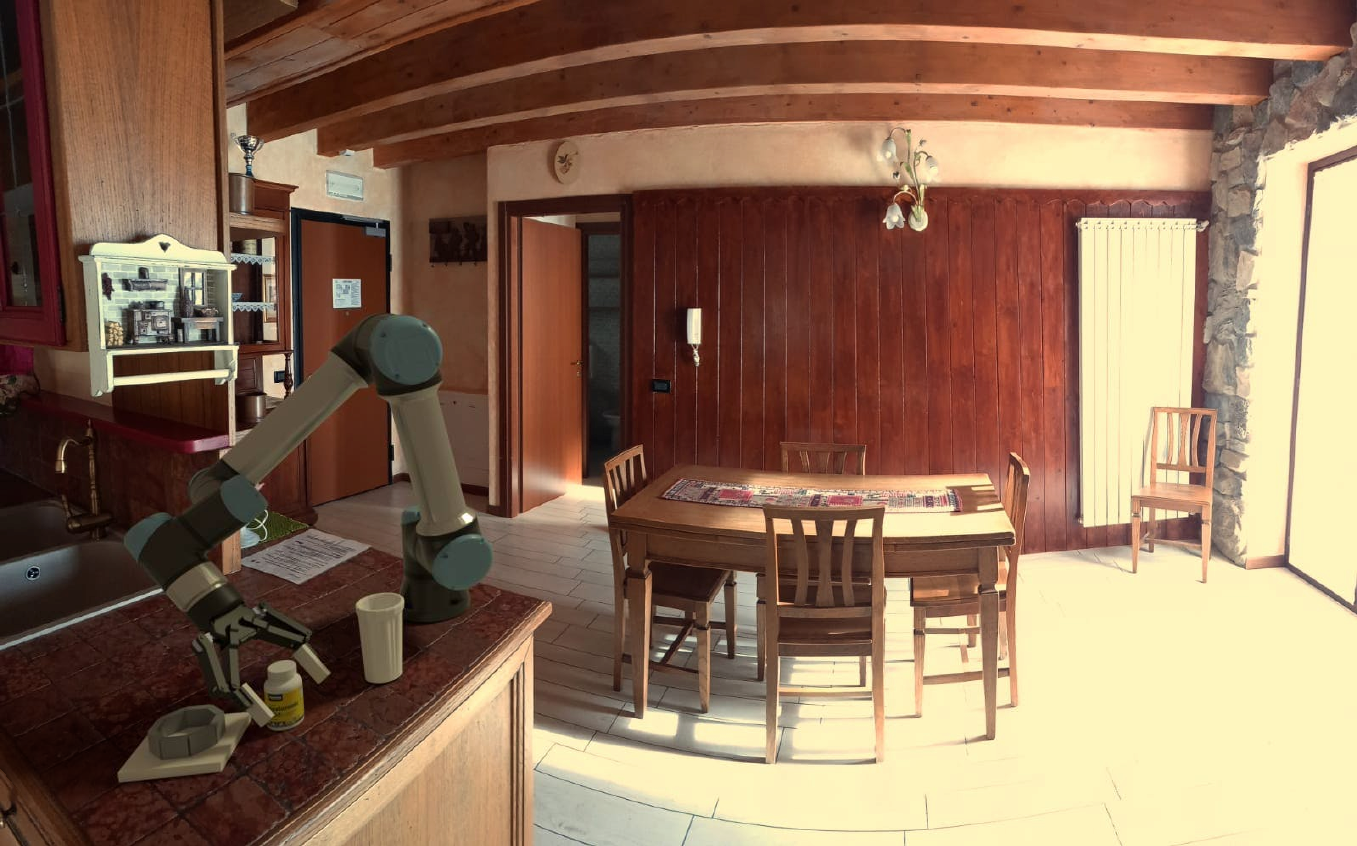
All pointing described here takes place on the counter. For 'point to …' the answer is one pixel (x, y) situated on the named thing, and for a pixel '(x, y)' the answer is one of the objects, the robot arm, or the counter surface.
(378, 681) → the cup
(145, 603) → the counter surface
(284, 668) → the supplement bottle
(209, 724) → the holder
